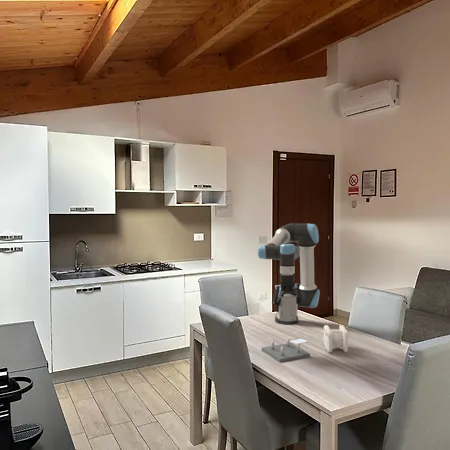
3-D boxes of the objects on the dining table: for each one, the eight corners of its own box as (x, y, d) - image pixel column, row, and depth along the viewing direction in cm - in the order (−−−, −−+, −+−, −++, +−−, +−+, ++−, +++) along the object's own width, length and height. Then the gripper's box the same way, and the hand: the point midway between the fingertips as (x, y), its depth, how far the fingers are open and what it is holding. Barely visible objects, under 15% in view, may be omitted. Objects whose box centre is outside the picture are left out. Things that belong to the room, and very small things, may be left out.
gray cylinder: (297, 321, 220) (297, 297, 219) (278, 321, 220) (278, 297, 220) (295, 316, 229) (295, 293, 229) (276, 316, 230) (277, 293, 229)
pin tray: (261, 350, 228) (261, 340, 228) (290, 345, 235) (290, 335, 235) (279, 362, 212) (279, 351, 211) (310, 356, 219) (310, 345, 219)
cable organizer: (348, 354, 221) (348, 332, 220) (327, 354, 222) (327, 332, 221) (342, 345, 236) (342, 324, 235) (322, 344, 237) (322, 323, 236)
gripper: (272, 276, 216) (272, 320, 217) (309, 273, 225) (309, 316, 226) (265, 274, 223) (264, 317, 224) (301, 271, 232) (300, 313, 233)
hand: (287, 316), depth 225 cm, fingers closed on gray cylinder, 9 cm apart
